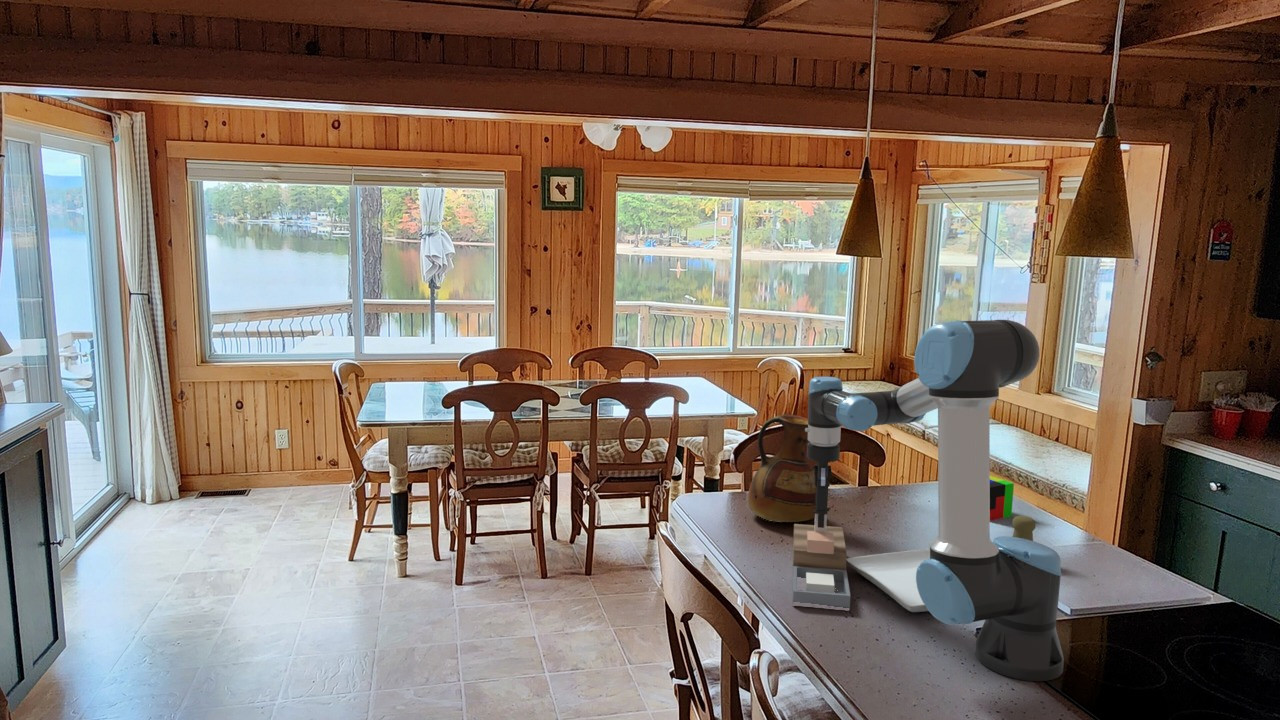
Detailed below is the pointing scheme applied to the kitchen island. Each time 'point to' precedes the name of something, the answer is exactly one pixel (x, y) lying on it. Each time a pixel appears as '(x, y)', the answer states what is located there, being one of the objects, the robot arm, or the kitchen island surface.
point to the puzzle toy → (1000, 498)
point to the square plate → (894, 575)
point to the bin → (823, 598)
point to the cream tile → (819, 582)
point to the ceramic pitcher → (784, 476)
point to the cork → (1023, 527)
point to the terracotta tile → (820, 542)
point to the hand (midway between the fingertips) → (820, 538)
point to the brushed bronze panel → (818, 559)
